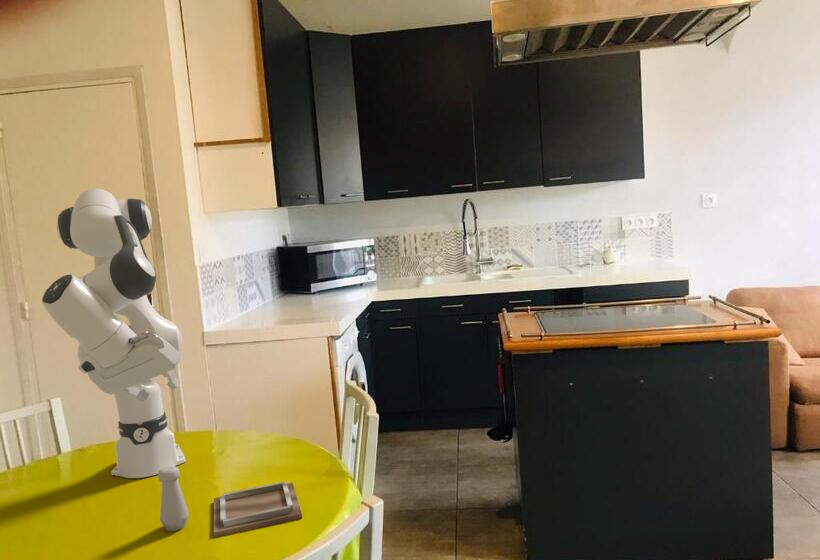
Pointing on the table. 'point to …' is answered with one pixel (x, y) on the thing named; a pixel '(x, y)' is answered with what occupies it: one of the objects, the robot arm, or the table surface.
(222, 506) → the socket plate
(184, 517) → the salt shaker
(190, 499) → the table surface
